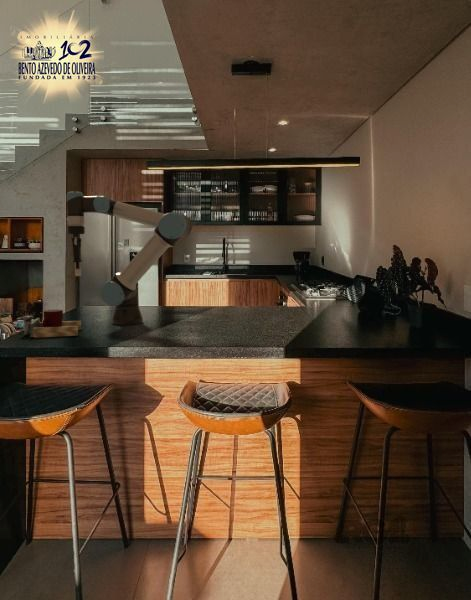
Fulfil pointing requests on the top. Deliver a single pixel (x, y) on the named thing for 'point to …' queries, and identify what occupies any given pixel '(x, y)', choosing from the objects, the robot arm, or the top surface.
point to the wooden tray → (54, 329)
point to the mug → (53, 318)
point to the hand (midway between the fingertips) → (78, 275)
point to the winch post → (27, 324)
